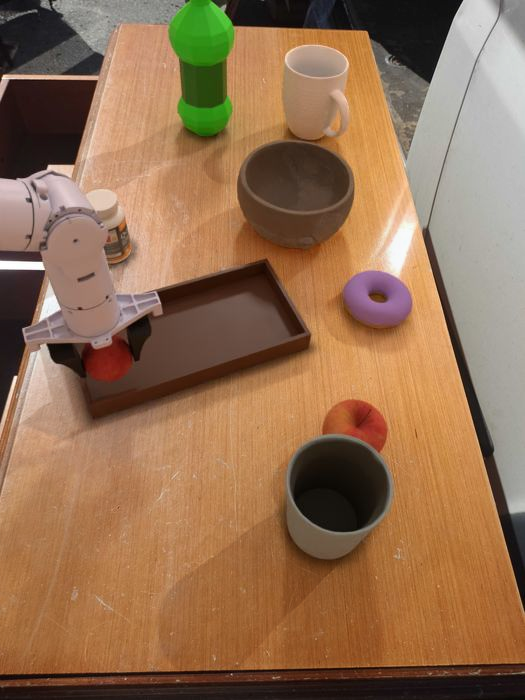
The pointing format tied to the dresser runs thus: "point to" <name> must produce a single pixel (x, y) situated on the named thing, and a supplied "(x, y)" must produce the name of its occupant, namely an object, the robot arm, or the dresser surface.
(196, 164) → the dresser surface
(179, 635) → the dresser surface
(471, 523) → the dresser surface
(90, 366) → the pomegranate
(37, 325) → the robot arm
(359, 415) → the apple
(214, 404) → the dresser surface
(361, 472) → the gray cup
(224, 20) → the plastic bottle
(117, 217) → the pill bottle
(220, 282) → the brown dish
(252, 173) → the bowl
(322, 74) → the mug
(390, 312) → the donut
